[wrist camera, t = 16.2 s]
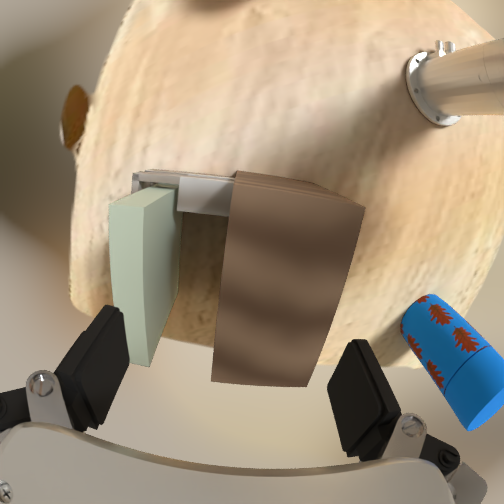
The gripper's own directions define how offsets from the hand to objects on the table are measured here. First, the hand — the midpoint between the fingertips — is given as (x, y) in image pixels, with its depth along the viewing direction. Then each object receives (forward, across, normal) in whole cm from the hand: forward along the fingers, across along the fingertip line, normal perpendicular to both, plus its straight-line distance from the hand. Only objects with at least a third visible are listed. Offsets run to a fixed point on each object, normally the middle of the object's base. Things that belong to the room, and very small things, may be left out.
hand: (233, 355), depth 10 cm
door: (+26, +10, +6) cm, 29 cm away
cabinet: (+26, +2, +5) cm, 27 cm away
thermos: (+28, -36, +14) cm, 48 cm away
